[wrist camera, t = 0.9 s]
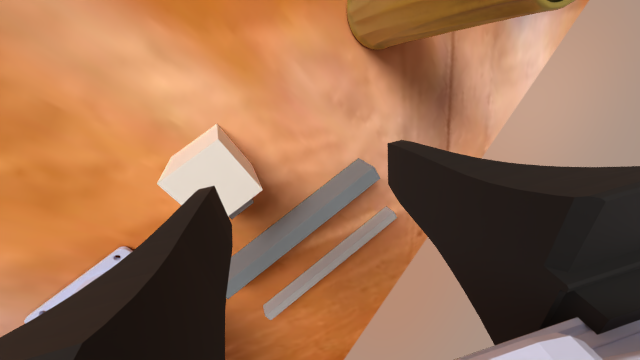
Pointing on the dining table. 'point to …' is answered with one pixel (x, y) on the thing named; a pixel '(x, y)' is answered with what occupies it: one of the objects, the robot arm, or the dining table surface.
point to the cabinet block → (212, 172)
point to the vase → (432, 17)
